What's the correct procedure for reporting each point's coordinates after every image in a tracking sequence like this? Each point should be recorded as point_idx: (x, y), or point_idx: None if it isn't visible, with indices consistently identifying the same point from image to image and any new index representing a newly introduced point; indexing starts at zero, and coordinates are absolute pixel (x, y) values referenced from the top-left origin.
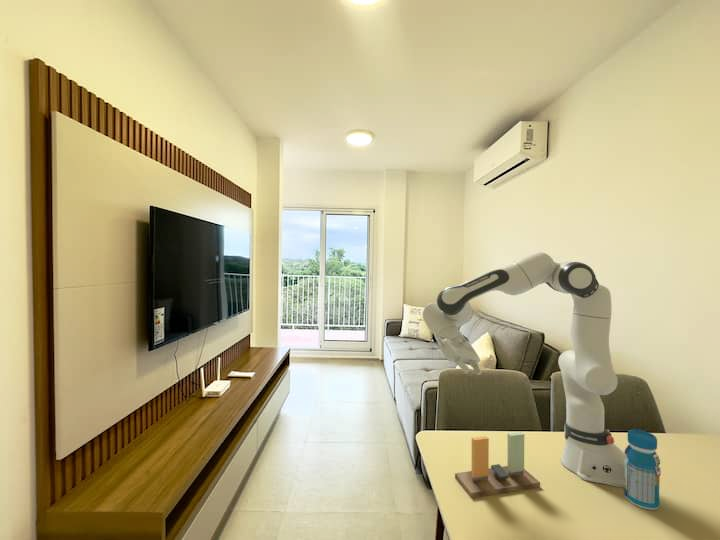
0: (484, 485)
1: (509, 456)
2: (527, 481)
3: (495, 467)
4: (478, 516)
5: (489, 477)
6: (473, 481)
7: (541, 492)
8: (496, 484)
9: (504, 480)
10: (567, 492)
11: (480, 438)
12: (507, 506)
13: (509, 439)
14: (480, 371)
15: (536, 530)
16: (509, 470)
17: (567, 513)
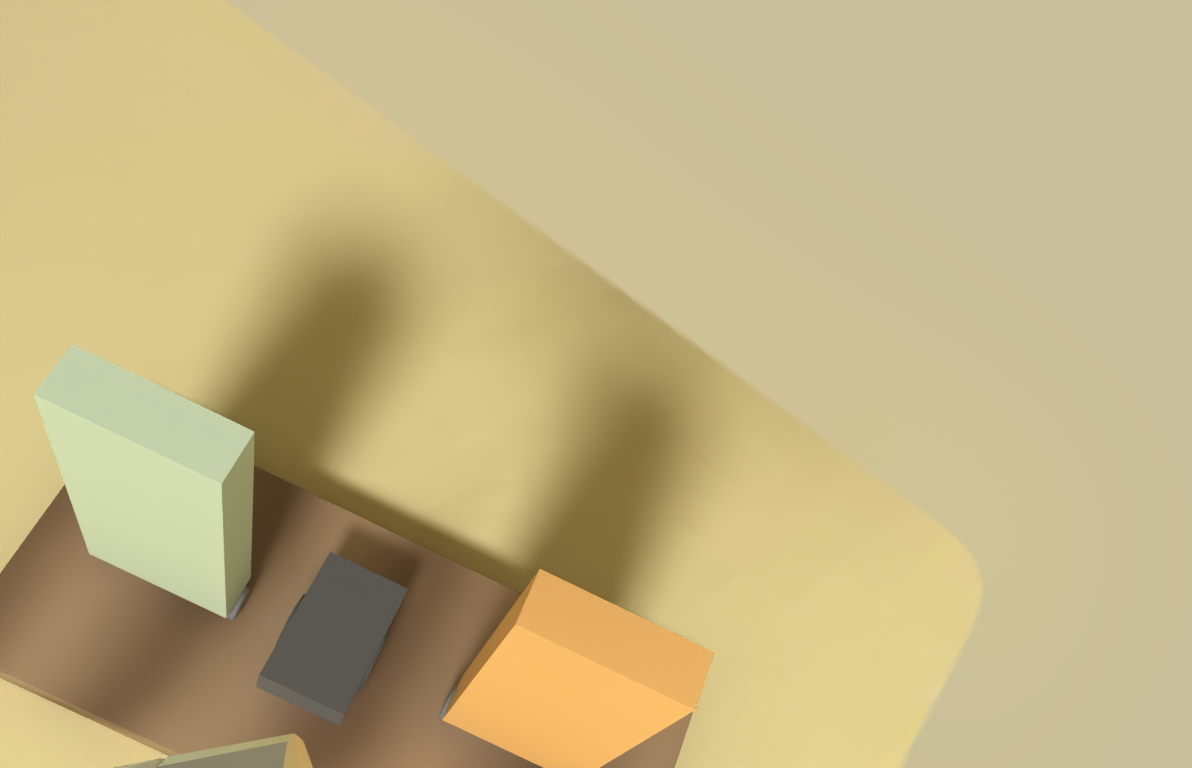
0: None
1: (241, 544)
2: None
3: (338, 672)
4: (784, 553)
5: (404, 707)
6: None
7: (192, 391)
8: (445, 615)
9: None
10: (34, 270)
11: (622, 629)
12: (548, 481)
13: (240, 476)
14: (236, 745)
15: (592, 291)
16: (242, 588)
17: (294, 218)
